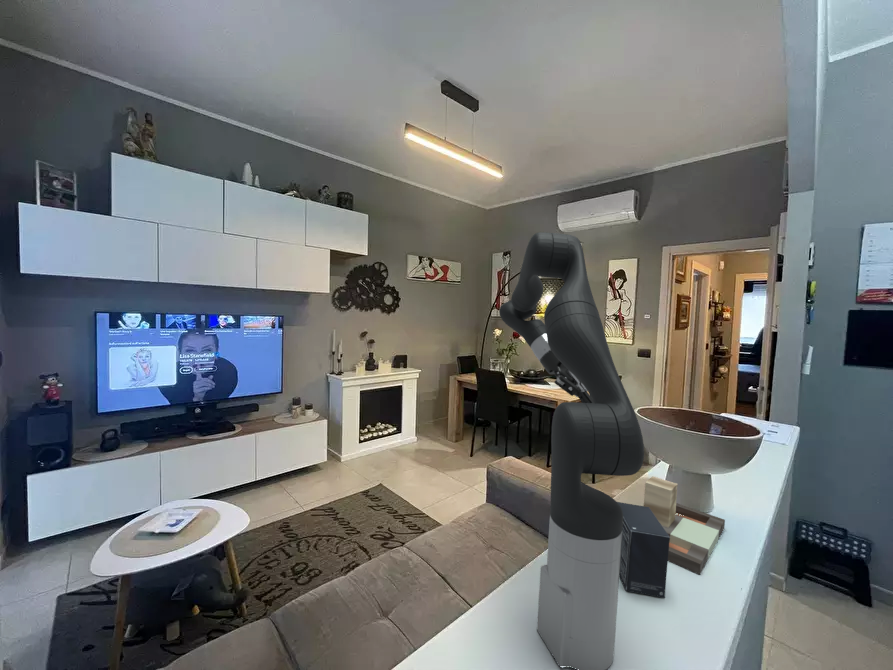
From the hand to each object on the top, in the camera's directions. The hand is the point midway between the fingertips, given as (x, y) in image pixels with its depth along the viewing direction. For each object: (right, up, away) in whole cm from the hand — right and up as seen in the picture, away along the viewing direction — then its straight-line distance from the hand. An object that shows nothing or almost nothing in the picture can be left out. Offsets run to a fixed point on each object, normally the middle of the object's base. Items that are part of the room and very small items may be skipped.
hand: (591, 406), depth 92 cm
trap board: (+13, -25, -13) cm, 31 cm away
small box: (-3, -25, -27) cm, 37 cm away
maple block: (+10, -23, -11) cm, 27 cm away
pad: (+15, -25, -16) cm, 33 cm away
